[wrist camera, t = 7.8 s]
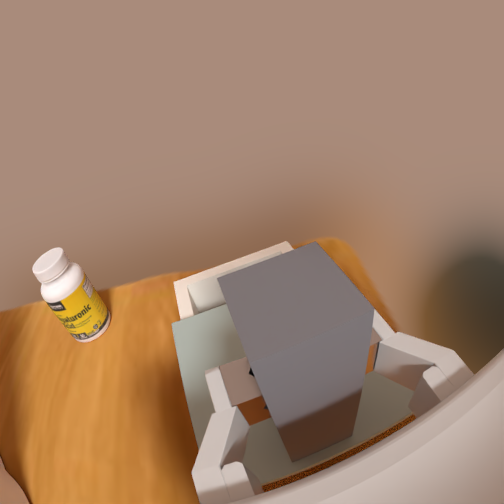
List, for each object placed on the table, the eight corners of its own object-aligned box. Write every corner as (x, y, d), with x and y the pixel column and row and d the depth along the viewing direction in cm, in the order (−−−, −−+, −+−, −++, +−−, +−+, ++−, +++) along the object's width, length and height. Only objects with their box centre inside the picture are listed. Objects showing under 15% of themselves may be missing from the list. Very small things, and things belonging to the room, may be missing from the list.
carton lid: (423, 407, 12) (492, 258, 7) (216, 499, 11) (86, 430, 5) (321, 273, 22) (306, 140, 16) (174, 328, 21) (110, 205, 15)
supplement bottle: (72, 349, 29) (20, 284, 23) (76, 317, 33) (33, 254, 27) (112, 335, 30) (63, 264, 24) (112, 303, 34) (72, 235, 28)
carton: (352, 379, 21) (356, 332, 18) (226, 431, 20) (198, 396, 16) (295, 291, 30) (286, 240, 26) (196, 328, 29) (173, 282, 25)
